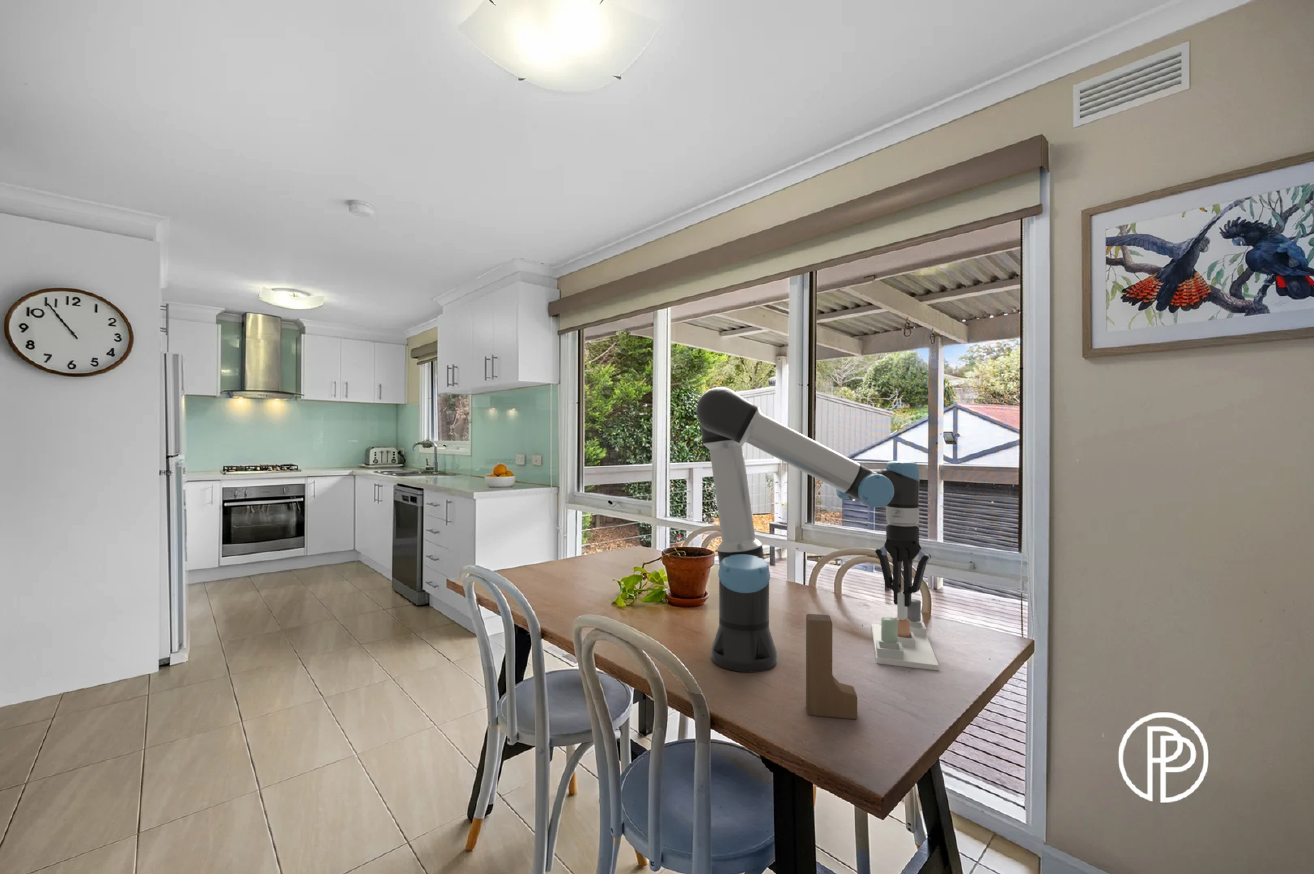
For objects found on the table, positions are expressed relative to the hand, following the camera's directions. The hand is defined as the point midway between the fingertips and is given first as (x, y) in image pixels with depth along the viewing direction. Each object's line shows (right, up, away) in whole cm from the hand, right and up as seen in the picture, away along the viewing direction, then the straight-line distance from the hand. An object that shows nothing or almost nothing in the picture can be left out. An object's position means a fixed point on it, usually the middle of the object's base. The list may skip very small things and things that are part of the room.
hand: (902, 618), depth 142 cm
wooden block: (-28, -8, -33) cm, 44 cm away
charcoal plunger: (+6, -3, +7) cm, 10 cm away
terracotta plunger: (0, -5, 0) cm, 5 cm away
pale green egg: (-6, -3, -7) cm, 10 cm away
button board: (0, -7, 0) cm, 7 cm away
